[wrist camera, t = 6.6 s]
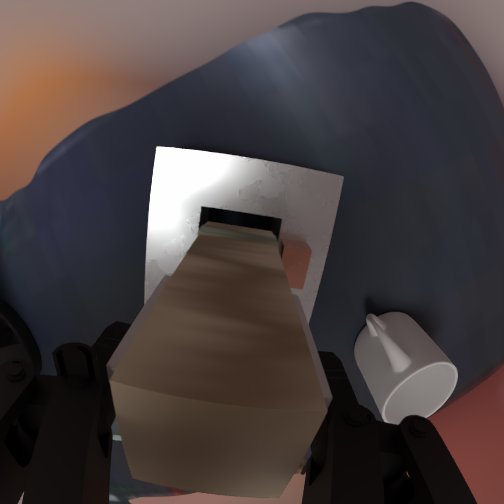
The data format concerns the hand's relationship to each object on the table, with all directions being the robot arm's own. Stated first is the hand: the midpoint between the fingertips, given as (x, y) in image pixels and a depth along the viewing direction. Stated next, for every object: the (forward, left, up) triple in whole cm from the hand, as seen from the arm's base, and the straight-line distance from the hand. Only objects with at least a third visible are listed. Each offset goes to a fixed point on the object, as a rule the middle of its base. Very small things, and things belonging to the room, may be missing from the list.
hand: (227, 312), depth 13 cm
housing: (0, 0, -16) cm, 16 cm away
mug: (+18, -9, -16) cm, 26 cm away
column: (0, 0, -8) cm, 8 cm away
